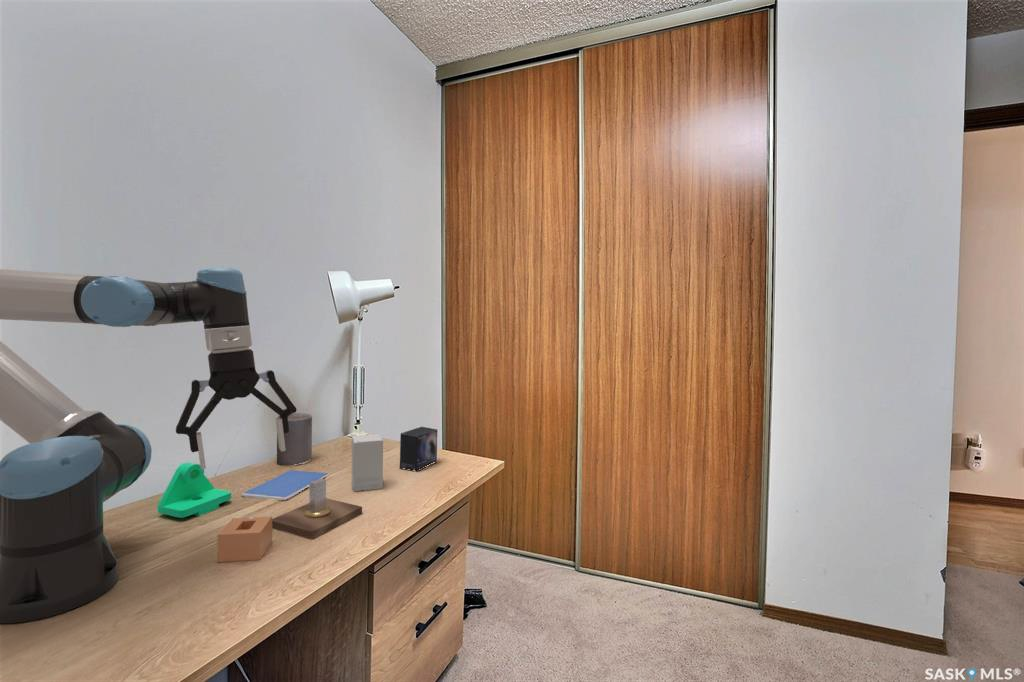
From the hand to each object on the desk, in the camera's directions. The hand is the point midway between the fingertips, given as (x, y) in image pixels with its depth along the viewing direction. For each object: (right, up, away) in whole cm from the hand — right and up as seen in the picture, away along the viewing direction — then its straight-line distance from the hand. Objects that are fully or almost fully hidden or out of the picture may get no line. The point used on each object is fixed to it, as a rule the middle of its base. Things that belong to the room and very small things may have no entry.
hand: (244, 458), depth 93 cm
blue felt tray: (-6, -15, +31) cm, 35 cm away
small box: (+24, -14, +49) cm, 56 cm away
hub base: (+10, -16, +10) cm, 21 cm away
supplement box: (+14, -15, +31) cm, 38 cm away
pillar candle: (-13, -14, +50) cm, 54 cm away
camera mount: (-19, -15, +15) cm, 28 cm away
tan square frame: (+3, -16, -4) cm, 17 cm away
